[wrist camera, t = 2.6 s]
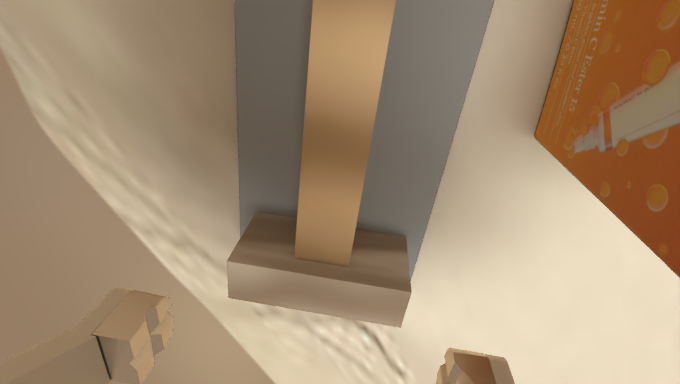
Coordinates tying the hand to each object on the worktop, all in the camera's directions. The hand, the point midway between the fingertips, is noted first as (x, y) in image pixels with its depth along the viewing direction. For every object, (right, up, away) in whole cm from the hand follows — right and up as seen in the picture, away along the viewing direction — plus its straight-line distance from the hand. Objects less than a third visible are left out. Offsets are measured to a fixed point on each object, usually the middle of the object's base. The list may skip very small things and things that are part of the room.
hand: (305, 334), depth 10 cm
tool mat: (+1, +7, +9) cm, 11 cm away
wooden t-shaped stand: (+1, +7, +8) cm, 10 cm away
